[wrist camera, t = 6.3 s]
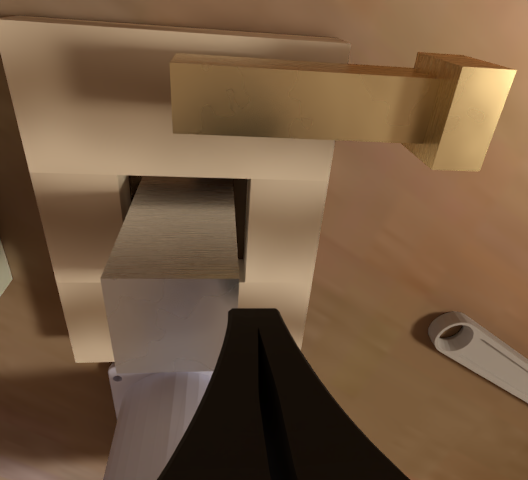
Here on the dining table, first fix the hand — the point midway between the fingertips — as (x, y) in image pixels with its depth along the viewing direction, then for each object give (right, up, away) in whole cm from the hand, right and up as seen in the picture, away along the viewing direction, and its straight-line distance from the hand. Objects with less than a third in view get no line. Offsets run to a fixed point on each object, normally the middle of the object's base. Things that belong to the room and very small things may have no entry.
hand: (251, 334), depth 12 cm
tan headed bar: (+2, +8, +3) cm, 8 cm away
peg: (-3, +4, +8) cm, 10 cm away
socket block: (-3, +4, +8) cm, 10 cm away
